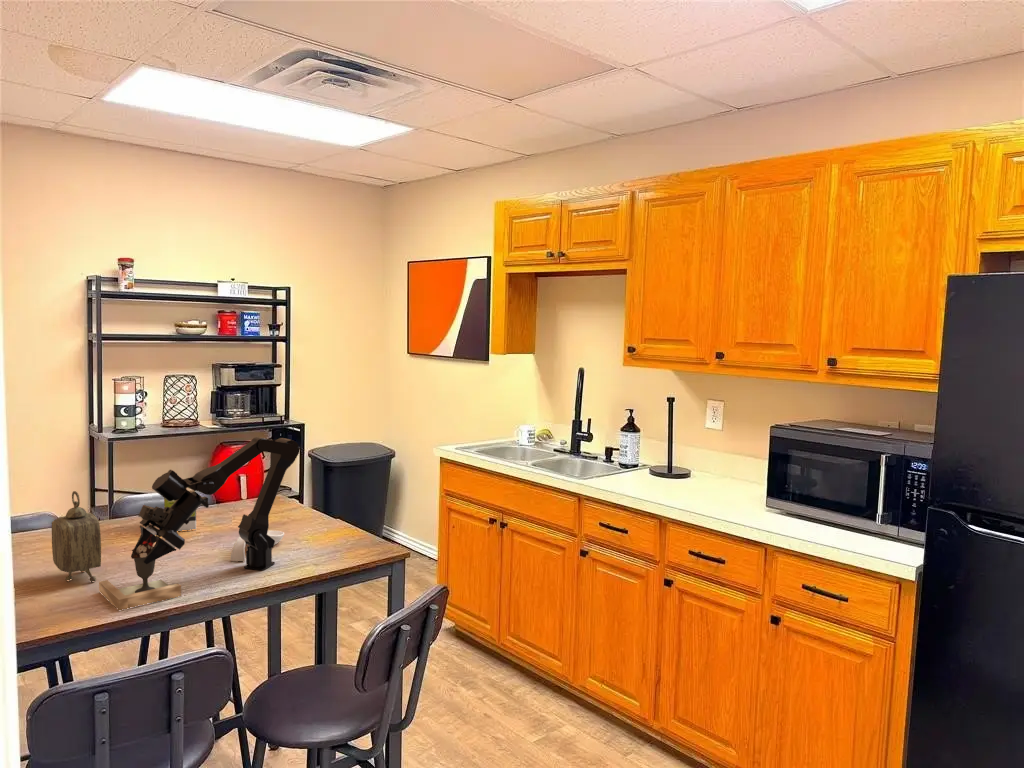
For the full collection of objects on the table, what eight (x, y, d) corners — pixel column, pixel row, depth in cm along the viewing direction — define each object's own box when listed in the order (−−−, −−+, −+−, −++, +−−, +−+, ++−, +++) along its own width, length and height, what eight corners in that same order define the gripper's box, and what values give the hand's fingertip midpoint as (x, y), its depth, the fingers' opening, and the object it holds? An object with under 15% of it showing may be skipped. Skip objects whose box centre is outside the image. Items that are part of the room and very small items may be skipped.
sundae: (162, 586, 198) (162, 532, 196) (153, 595, 191) (153, 539, 190) (137, 586, 197) (136, 532, 195) (127, 595, 190) (126, 539, 189)
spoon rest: (257, 539, 244) (257, 518, 243) (290, 541, 243) (290, 520, 242) (219, 561, 221) (219, 538, 220) (256, 564, 219) (255, 540, 219)
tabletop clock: (102, 582, 201) (99, 494, 198) (64, 590, 194) (61, 499, 192) (88, 569, 211) (85, 485, 209) (52, 576, 205) (49, 489, 203)
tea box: (165, 522, 261) (164, 482, 259) (195, 520, 265) (194, 480, 264) (164, 534, 247) (163, 491, 246) (196, 531, 251) (196, 489, 250)
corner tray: (158, 579, 204) (158, 569, 204) (181, 596, 192) (180, 585, 192) (99, 592, 193) (98, 581, 193) (119, 611, 181) (118, 599, 181)
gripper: (146, 487, 201) (104, 534, 194) (171, 500, 188) (126, 550, 181) (176, 510, 207) (136, 556, 201) (202, 524, 194) (160, 574, 187)
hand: (138, 558), depth 192 cm, fingers open, 9 cm apart
